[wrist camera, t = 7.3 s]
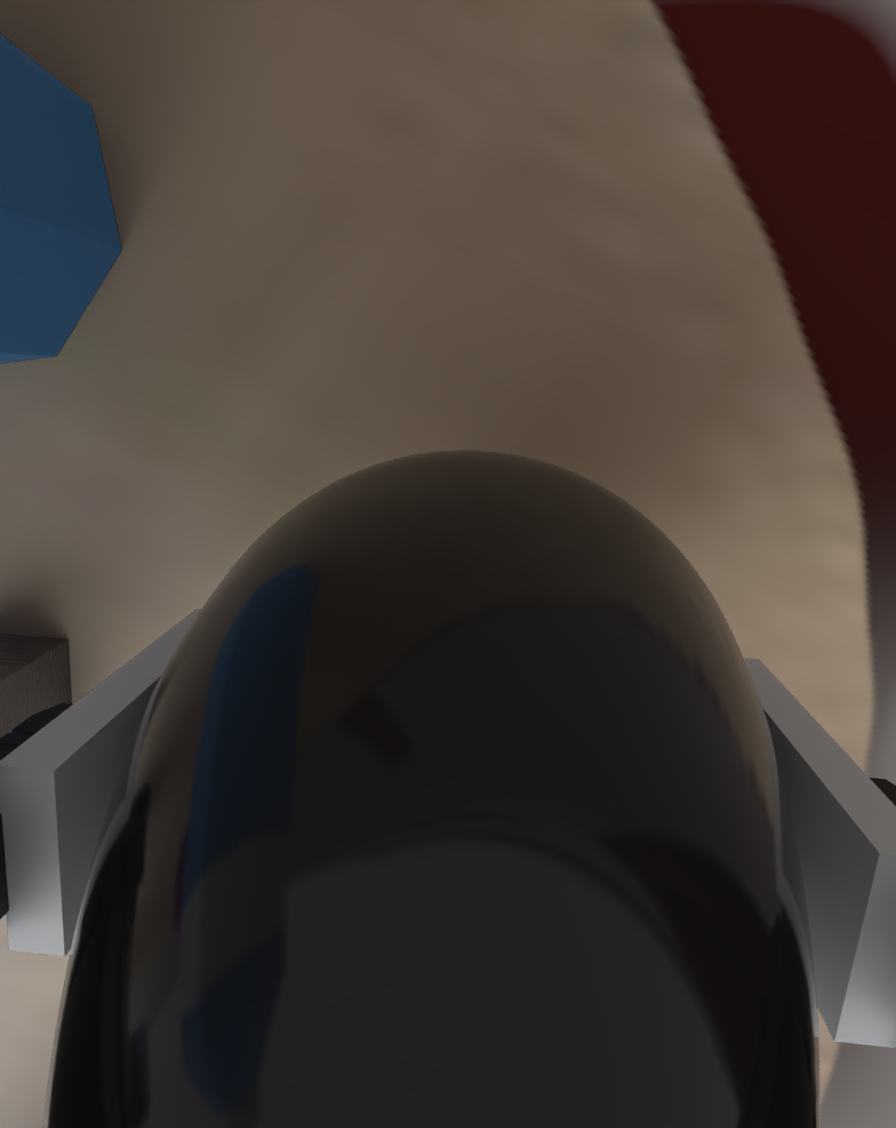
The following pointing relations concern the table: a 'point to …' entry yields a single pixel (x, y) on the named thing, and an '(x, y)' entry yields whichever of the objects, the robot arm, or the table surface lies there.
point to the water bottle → (48, 209)
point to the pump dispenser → (447, 836)
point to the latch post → (31, 677)
